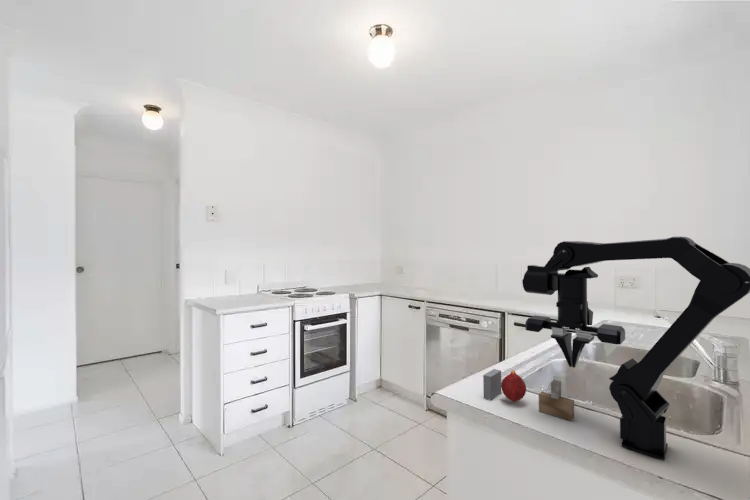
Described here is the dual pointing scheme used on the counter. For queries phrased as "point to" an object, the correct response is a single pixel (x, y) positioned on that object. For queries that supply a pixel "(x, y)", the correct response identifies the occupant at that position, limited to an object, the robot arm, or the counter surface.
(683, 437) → the counter surface
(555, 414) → the door
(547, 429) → the counter surface
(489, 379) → the jamb
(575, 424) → the counter surface
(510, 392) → the onion
